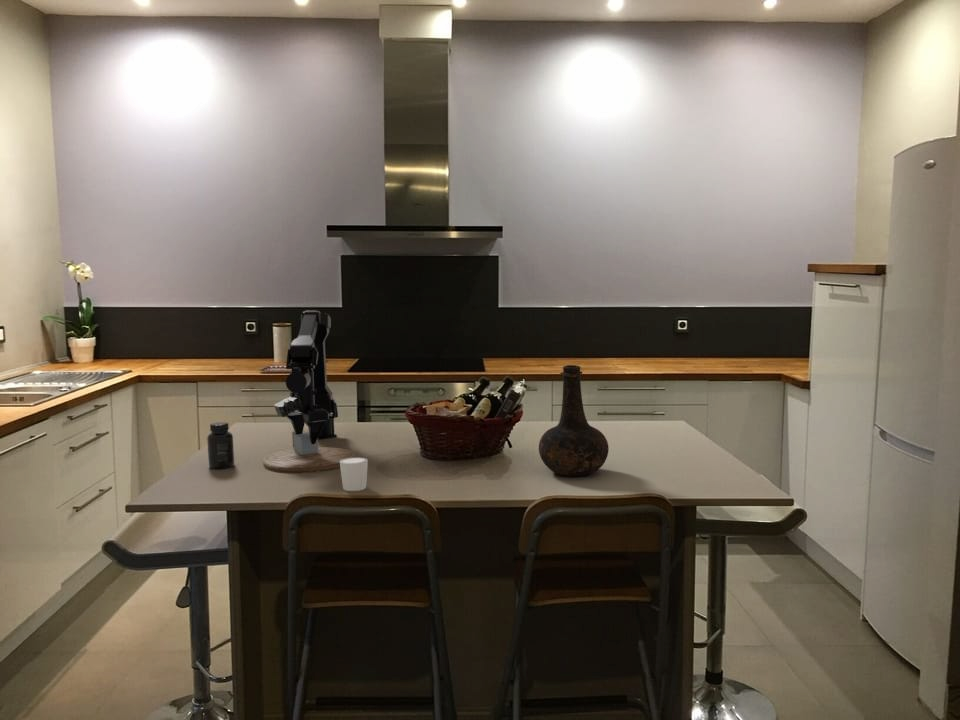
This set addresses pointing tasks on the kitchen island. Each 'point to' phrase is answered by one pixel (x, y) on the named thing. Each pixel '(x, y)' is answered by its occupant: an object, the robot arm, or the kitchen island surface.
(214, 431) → the supplement bottle
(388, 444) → the kitchen island surface
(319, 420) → the robot arm
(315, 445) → the slate block
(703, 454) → the kitchen island surface
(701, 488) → the kitchen island surface
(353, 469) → the white cup
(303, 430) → the walnut block
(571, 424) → the glass bottle
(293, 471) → the trivet
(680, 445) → the kitchen island surface
